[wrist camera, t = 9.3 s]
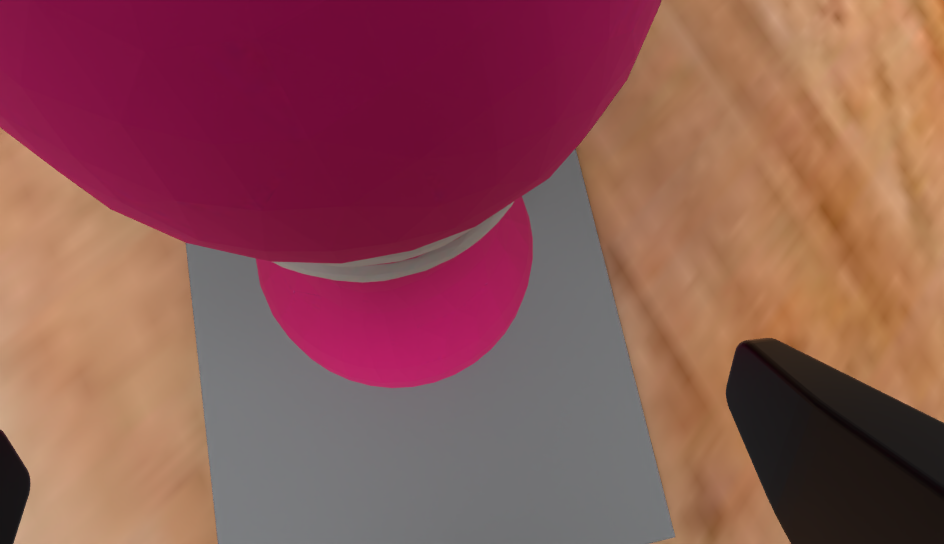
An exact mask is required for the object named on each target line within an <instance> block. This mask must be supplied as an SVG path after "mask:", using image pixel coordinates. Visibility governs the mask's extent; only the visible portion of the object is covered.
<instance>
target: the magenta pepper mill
mask: <svg viewBox="0 0 944 544" xmlns="http://www.w3.org/2000/svg"><path fill="white" fill-rule="evenodd" d="M660 3H661V0H0V127H1V128H2V129H3V130H4V131H6V132H7V133H8V134H10V135H11V136H12V137H14V138H15V139H16V140H18V141H19V142H20V143H22V144H23V145H24V146H26V147H27V148H28V149H30V150H31V151H32V152H33V153H35V154H36V155H37V156H39V157H40V158H41V159H43V160H44V161H45V162H47V163H48V164H49V165H51V166H52V167H53V168H55V169H56V170H57V171H59V172H60V173H61V174H63V175H64V176H66V177H67V178H68V179H70V180H71V181H72V182H74V183H75V184H77V185H78V186H79V187H81V188H82V189H83V190H85V191H86V192H88V193H89V194H90V195H92V196H93V197H95V198H96V199H97V200H99V201H100V202H101V203H103V204H104V205H106V206H107V207H108V208H110V209H112V210H114V211H116V212H118V213H121V214H123V215H125V216H127V217H130V218H132V219H134V220H136V221H139V222H141V223H143V224H145V225H148V226H150V227H152V228H154V229H157V230H159V231H161V232H163V233H166V234H168V235H170V236H172V237H175V238H177V239H179V240H181V241H184V242H186V243H189V244H193V245H198V246H202V247H207V248H211V249H216V250H220V251H225V252H229V253H233V254H238V255H242V256H247V257H251V258H256V264H257V269H258V275H259V281H260V286H261V289H262V291H263V293H264V296H265V298H266V300H267V303H268V305H269V307H270V310H271V312H272V314H273V316H274V318H275V319H276V320H277V322H278V323H279V324H280V326H281V327H282V329H283V330H284V331H285V333H286V334H287V335H288V337H289V338H290V339H291V340H292V341H293V342H294V343H295V344H296V345H297V346H298V347H299V348H300V349H301V350H302V351H303V352H304V353H305V354H306V355H308V356H309V357H310V358H311V359H312V360H313V361H315V362H316V363H318V364H319V365H321V366H322V367H324V368H325V369H327V370H328V371H330V372H332V373H335V374H337V375H339V376H341V377H343V378H346V379H348V380H350V381H354V382H358V383H362V384H366V385H369V386H377V387H387V388H403V387H415V386H420V385H425V384H430V383H434V382H437V381H440V380H442V379H445V378H447V377H450V376H453V375H455V374H457V373H459V372H460V371H462V370H464V369H465V368H467V367H469V366H470V365H472V364H474V363H475V362H476V361H478V360H479V359H480V358H481V357H483V356H484V355H485V354H486V353H487V352H489V351H490V350H491V349H492V348H493V347H494V345H495V344H496V343H497V342H498V341H499V340H500V339H501V337H502V336H503V335H504V334H505V333H506V331H507V329H508V328H509V326H510V325H511V323H512V321H513V320H514V318H515V317H516V314H517V312H518V310H519V307H520V305H521V303H522V300H523V298H524V295H525V292H526V289H527V287H528V282H529V277H530V272H531V266H532V261H533V236H532V231H531V225H530V219H529V215H528V212H527V210H526V207H525V204H524V201H523V198H522V196H523V195H524V194H526V193H527V192H529V191H531V190H532V189H534V188H535V187H537V186H538V185H540V184H541V183H543V182H544V181H546V180H547V179H549V178H550V177H551V176H552V174H553V173H554V172H555V171H556V170H557V169H558V168H559V167H560V165H561V164H562V163H563V162H564V161H565V160H566V159H567V157H568V156H569V155H570V154H571V153H572V152H573V151H574V150H575V148H576V147H577V146H578V145H579V144H580V143H581V141H582V140H583V139H584V138H585V136H586V135H587V134H588V132H589V131H590V130H591V128H592V127H593V126H594V125H595V123H596V122H597V121H598V119H599V118H600V116H601V115H602V114H603V112H604V111H605V109H606V108H607V107H608V105H609V104H610V103H611V101H612V100H613V98H614V97H615V96H616V94H617V93H618V91H619V90H620V89H621V87H622V86H623V85H624V83H625V82H626V80H627V79H628V76H629V74H630V72H631V70H632V67H633V65H634V63H635V60H636V58H637V56H638V54H639V51H640V49H641V47H642V45H643V42H644V40H645V38H646V35H647V33H648V31H649V29H650V26H651V24H652V22H653V20H654V17H655V15H656V13H657V10H658V8H659V6H660Z"/></svg>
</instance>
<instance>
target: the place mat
mask: <svg viewBox="0 0 944 544" xmlns="http://www.w3.org/2000/svg"><path fill="white" fill-rule="evenodd" d="M522 198H523V201H524V204H525V207H526V210H527V212H528V215H529V219H530V225H531V231H532V236H533V261H532V266H531V272H530V277H529V282H528V287H527V289H526V292H525V295H524V298H523V300H522V303H521V305H520V307H519V310H518V312H517V314H516V317H515V318H514V320H513V321H512V323H511V325H510V326H509V328H508V329H507V331H506V333H505V334H504V335H503V336H502V337H501V339H500V340H499V341H498V342H497V343H496V344H495V345H494V347H493V348H492V349H491V350H490V351H489V352H487V353H486V354H485V355H484V356H483V357H481V358H480V359H479V360H478V361H476V362H475V363H474V364H472V365H470V366H469V367H467V368H465V369H464V370H462V371H460V372H459V373H457V374H455V375H453V376H450V377H447V378H445V379H442V380H440V381H437V382H434V383H430V384H425V385H420V386H415V387H403V388H387V387H377V386H369V385H366V384H362V383H358V382H354V381H350V380H348V379H346V378H343V377H341V376H339V375H337V374H335V373H332V372H330V371H328V370H327V369H325V368H324V367H322V366H321V365H319V364H318V363H316V362H315V361H313V360H312V359H311V358H310V357H309V356H308V355H306V354H305V353H304V352H303V351H302V350H301V349H300V348H299V347H298V346H297V345H296V344H295V343H294V342H293V341H292V340H291V339H290V338H289V337H288V335H287V334H286V333H285V331H284V330H283V329H282V327H281V326H280V324H279V323H278V322H277V320H276V319H275V318H274V316H273V314H272V312H271V310H270V307H269V305H268V303H267V300H266V298H265V296H264V293H263V291H262V289H261V286H260V281H259V275H258V269H257V264H256V258H251V257H247V256H242V255H238V254H233V253H229V252H225V251H220V250H216V249H211V248H207V247H202V246H198V245H193V244H189V243H186V250H187V259H188V269H189V278H190V287H191V296H192V306H193V315H194V324H195V334H196V343H197V352H198V361H199V371H200V380H201V389H202V399H203V408H204V417H205V427H206V436H207V445H208V454H209V464H210V473H211V482H212V492H213V501H214V510H215V519H216V529H217V538H218V544H649V543H653V542H657V541H661V540H665V539H670V538H674V537H675V534H674V530H673V526H672V522H671V518H670V515H669V511H668V507H667V503H666V499H665V495H664V491H663V487H662V483H661V480H660V476H659V472H658V468H657V464H656V460H655V456H654V452H653V448H652V444H651V441H650V437H649V433H648V429H647V425H646V421H645V417H644V413H643V409H642V406H641V402H640V398H639V394H638V390H637V386H636V382H635V378H634V374H633V371H632V367H631V363H630V359H629V355H628V351H627V347H626V343H625V339H624V335H623V332H622V328H621V324H620V320H619V316H618V312H617V308H616V304H615V300H614V297H613V293H612V289H611V285H610V281H609V277H608V273H607V269H606V265H605V262H604V258H603V254H602V250H601V246H600V242H599V238H598V234H597V230H596V226H595V223H594V219H593V215H592V211H591V207H590V203H589V199H588V195H587V191H586V188H585V184H584V180H583V176H582V172H581V168H580V164H579V160H578V156H577V153H576V149H575V150H574V151H573V152H572V153H571V154H570V155H569V156H568V157H567V159H566V160H565V161H564V162H563V163H562V164H561V165H560V167H559V168H558V169H557V170H556V171H555V172H554V173H553V174H552V176H551V177H550V178H549V179H547V180H546V181H544V182H543V183H541V184H540V185H538V186H537V187H535V188H534V189H532V190H531V191H529V192H527V193H526V194H524V195H523V196H522Z"/></svg>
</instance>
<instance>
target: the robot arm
mask: <svg viewBox="0 0 944 544" xmlns="http://www.w3.org/2000/svg"><path fill="white" fill-rule="evenodd" d="M726 398H727V403H728V406H729V409H730V411H731V414H732V416H733V418H734V421H735V423H736V425H737V428H738V430H739V432H740V435H741V437H742V439H743V442H744V444H745V446H746V449H747V451H748V453H749V456H750V458H751V460H752V463H753V465H754V467H755V470H756V472H757V474H758V477H759V479H760V481H761V484H762V486H763V488H764V491H765V493H766V495H767V498H768V500H769V502H770V504H771V506H772V508H773V510H774V513H775V515H776V516H777V518H778V520H779V522H780V524H781V526H782V528H783V530H784V532H785V533H786V535H787V537H788V539H789V541H790V542H791V544H944V423H943V422H941V421H939V420H937V419H935V418H933V417H931V416H929V415H927V414H925V413H923V412H921V411H919V410H917V409H915V408H913V407H911V406H909V405H907V404H905V403H903V402H901V401H899V400H897V399H895V398H893V397H891V396H889V395H887V394H885V393H883V392H881V391H879V390H877V389H875V388H873V387H871V386H869V385H867V384H865V383H863V382H861V381H859V380H857V379H855V378H853V377H851V376H849V375H846V374H844V373H842V372H840V371H838V370H836V369H834V368H832V367H830V366H828V365H826V364H824V363H822V362H820V361H818V360H816V359H814V358H812V357H810V356H808V355H806V354H804V353H802V352H800V351H798V350H796V349H794V348H792V347H790V346H788V345H786V344H784V343H782V342H780V341H778V340H776V339H773V338H763V339H754V340H746V341H743V342H741V343H740V344H739V345H738V346H737V348H736V351H735V355H734V359H733V363H732V367H731V371H730V375H729V379H728V383H727V387H726ZM29 491H30V476H29V472H28V470H27V468H26V467H25V465H24V464H23V462H22V460H21V459H20V457H19V456H18V454H17V453H16V451H15V449H14V448H13V446H12V445H11V443H10V441H9V440H8V438H7V437H6V435H5V434H4V432H3V431H2V430H0V544H13V543H14V540H15V537H16V533H17V530H18V527H19V524H20V521H21V518H22V515H23V511H24V508H25V505H26V502H27V499H28V496H29Z"/></svg>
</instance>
